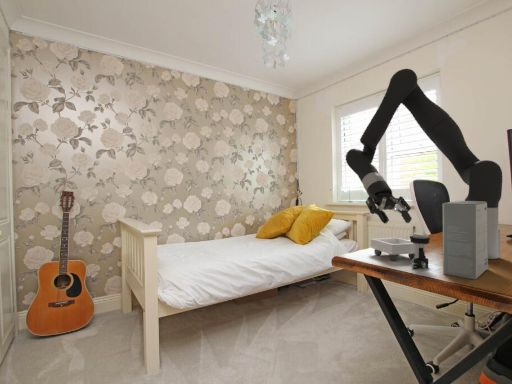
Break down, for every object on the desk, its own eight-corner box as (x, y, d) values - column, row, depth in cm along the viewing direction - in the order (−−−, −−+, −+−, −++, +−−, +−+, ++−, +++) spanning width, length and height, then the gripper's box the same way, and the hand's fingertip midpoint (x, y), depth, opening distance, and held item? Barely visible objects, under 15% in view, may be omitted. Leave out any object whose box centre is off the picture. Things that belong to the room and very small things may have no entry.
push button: (420, 271, 80) (420, 236, 79) (402, 266, 84) (403, 233, 84) (433, 268, 83) (434, 234, 83) (416, 264, 87) (416, 232, 87)
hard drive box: (456, 263, 88) (457, 200, 87) (488, 269, 82) (488, 201, 82) (441, 273, 77) (442, 202, 77) (476, 280, 72) (476, 203, 71)
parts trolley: (397, 252, 103) (397, 237, 103) (420, 260, 92) (421, 243, 92) (370, 254, 100) (370, 238, 100) (391, 262, 90) (392, 244, 89)
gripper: (363, 179, 99) (384, 214, 88) (398, 179, 102) (423, 214, 91) (354, 194, 104) (373, 229, 93) (388, 194, 107) (410, 228, 96)
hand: (398, 221), depth 92 cm, fingers open, 8 cm apart
